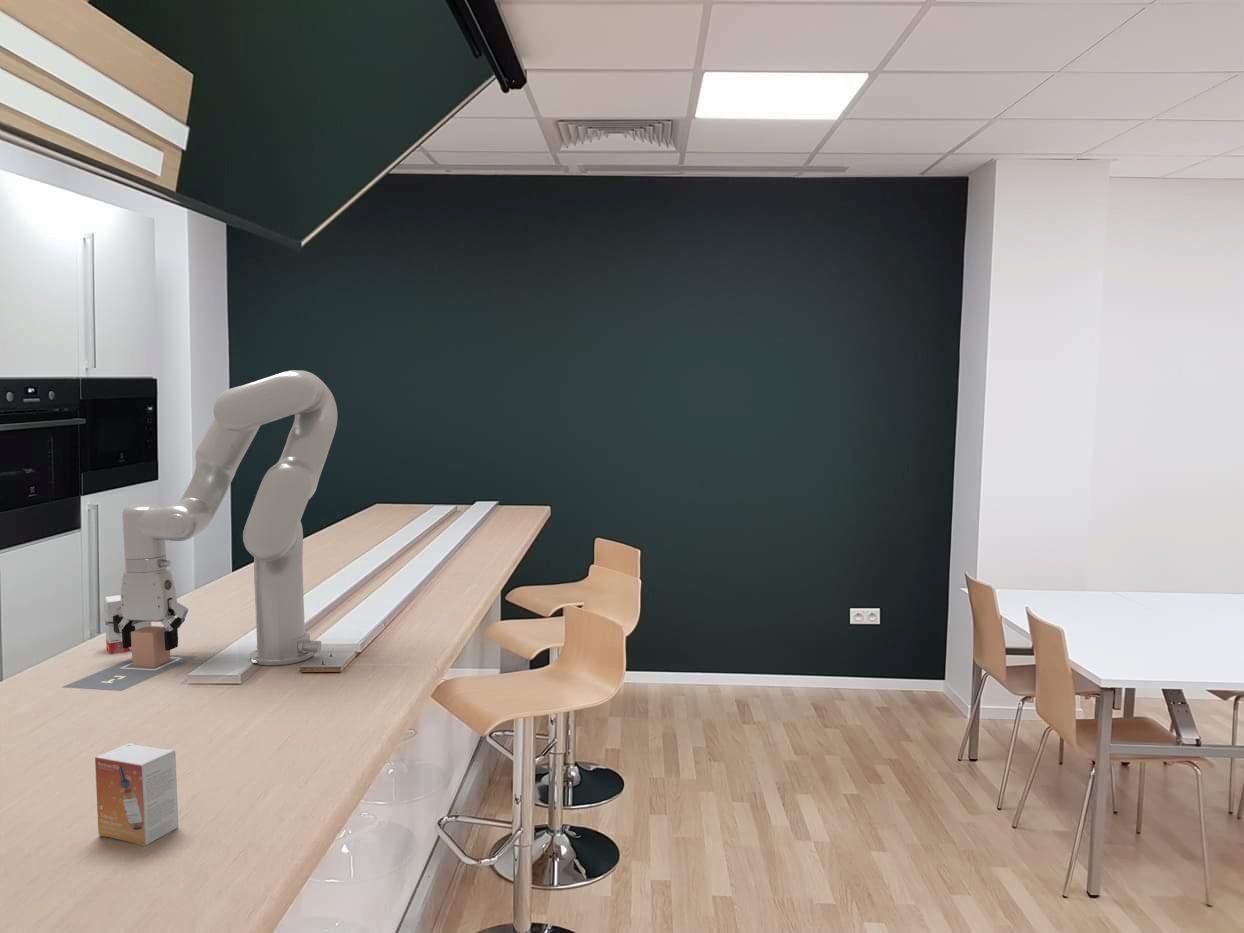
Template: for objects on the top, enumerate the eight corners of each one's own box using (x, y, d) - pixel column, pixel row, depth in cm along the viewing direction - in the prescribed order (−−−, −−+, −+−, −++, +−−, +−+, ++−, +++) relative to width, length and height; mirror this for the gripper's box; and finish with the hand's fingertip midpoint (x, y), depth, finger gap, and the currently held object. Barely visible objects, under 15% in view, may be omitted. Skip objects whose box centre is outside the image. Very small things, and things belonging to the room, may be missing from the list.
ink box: (109, 656, 209) (106, 600, 208) (106, 650, 213) (103, 596, 212) (153, 649, 214) (150, 595, 213) (150, 644, 218) (147, 591, 217)
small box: (97, 836, 126) (92, 756, 125) (133, 818, 131) (129, 741, 130) (145, 846, 123) (140, 765, 122) (180, 827, 128) (176, 749, 127)
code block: (170, 660, 204) (168, 626, 203) (154, 667, 199) (152, 633, 199) (149, 659, 205) (147, 625, 204) (132, 666, 200) (130, 632, 200)
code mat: (198, 657, 207) (197, 656, 207) (121, 692, 184) (121, 690, 184) (143, 654, 209) (143, 653, 209) (61, 688, 187) (61, 687, 187)
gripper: (195, 562, 202) (199, 644, 204) (121, 560, 206) (125, 641, 207) (172, 569, 195) (176, 654, 196) (95, 567, 198) (100, 650, 200)
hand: (150, 647), depth 202 cm, fingers open, 9 cm apart
